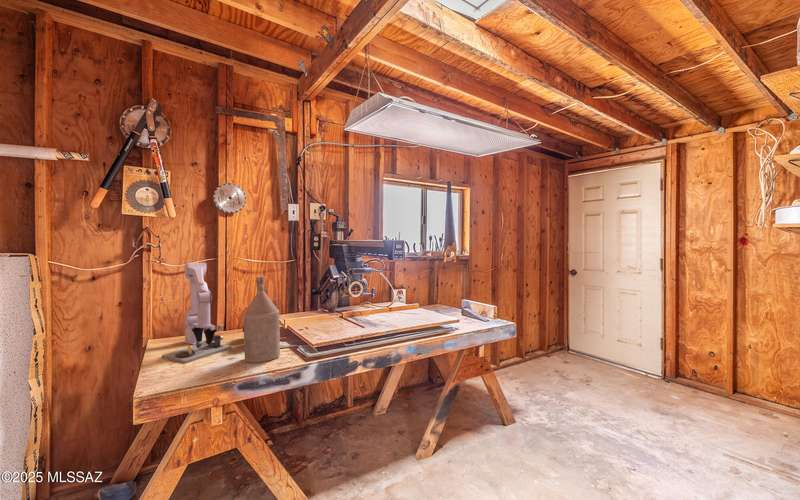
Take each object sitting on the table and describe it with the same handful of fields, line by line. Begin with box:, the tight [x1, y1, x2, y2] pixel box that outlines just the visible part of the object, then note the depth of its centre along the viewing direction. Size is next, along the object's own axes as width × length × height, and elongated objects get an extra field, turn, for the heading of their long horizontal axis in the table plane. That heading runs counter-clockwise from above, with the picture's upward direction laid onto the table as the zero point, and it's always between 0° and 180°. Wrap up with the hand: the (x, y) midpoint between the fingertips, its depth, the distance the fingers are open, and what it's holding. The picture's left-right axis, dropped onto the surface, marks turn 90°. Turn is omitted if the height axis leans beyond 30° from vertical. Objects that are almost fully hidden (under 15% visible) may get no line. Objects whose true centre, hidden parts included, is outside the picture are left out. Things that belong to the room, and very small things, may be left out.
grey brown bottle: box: [242, 275, 282, 364], centre depth 160 cm, size 13×17×40 cm
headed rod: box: [195, 335, 224, 348], centre depth 173 cm, size 3×14×3 cm, turn 155°
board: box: [161, 343, 232, 364], centre depth 168 cm, size 18×24×1 cm
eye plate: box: [205, 333, 224, 349], centre depth 174 cm, size 9×4×6 cm, turn 65°
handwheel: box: [175, 345, 195, 357], centre depth 161 cm, size 8×9×5 cm
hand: (204, 342), depth 169 cm, fingers open, 7 cm apart
